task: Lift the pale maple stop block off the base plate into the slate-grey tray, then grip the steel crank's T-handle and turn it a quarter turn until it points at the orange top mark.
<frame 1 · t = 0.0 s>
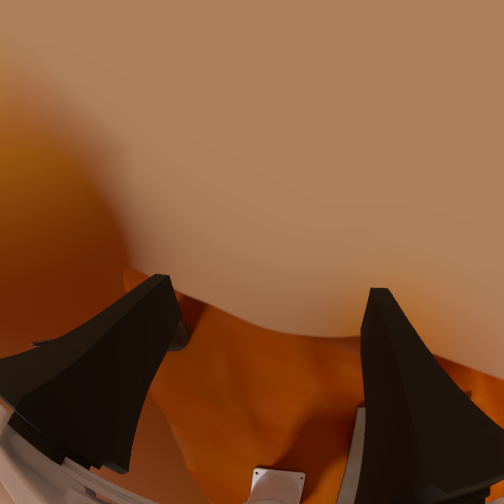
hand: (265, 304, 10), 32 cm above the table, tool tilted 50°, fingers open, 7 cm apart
butter churn: (171, 329, 44), on the table
base plate: (405, 459, 30), on the table
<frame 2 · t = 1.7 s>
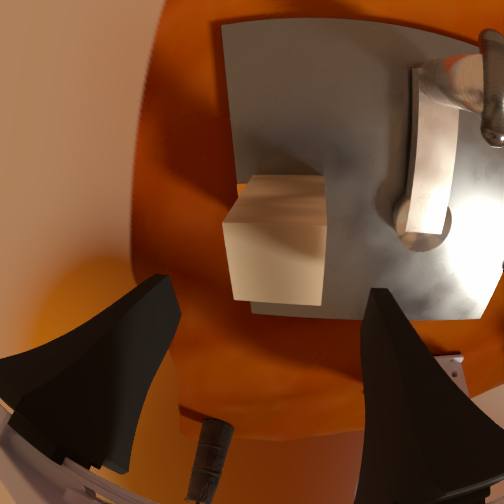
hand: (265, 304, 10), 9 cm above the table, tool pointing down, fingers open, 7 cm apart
crank: (454, 176, 10), point 5 cm above the table, hinge at -90.0°
butter churn: (215, 424, 41), on the table
stop block: (289, 207, 17), point 1 cm above the table, touching base plate
base plate: (401, 191, 15), on the table
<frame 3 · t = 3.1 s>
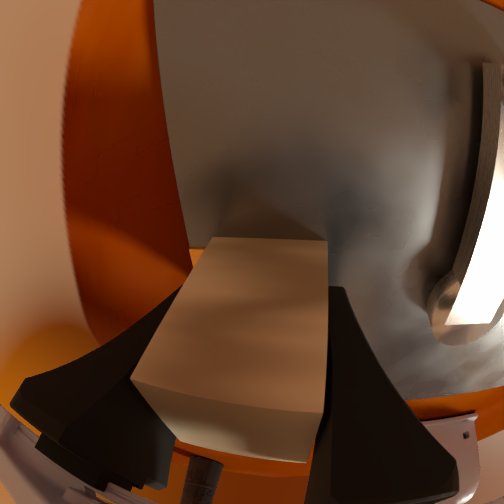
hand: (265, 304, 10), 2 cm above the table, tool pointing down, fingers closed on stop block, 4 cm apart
butter churn: (203, 460, 35), on the table
stop block: (270, 284, 11), point 1 cm above the table, touching base plate, gripper
base plate: (442, 255, 10), on the table
when the fingers open (3 cm above the table, at t = 7.2 s): stop block drops 2 cm, resting on tray.
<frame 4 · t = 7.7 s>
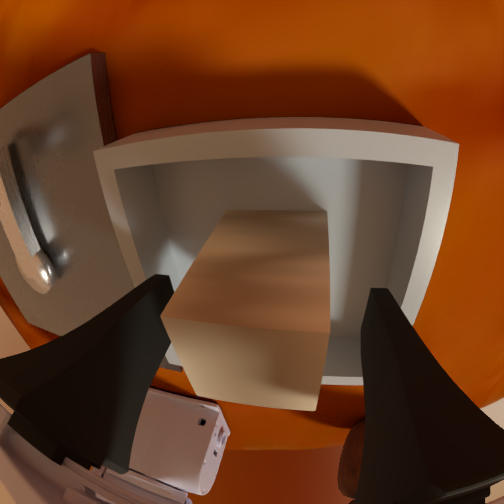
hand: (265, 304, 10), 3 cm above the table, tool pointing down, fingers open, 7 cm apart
wooden figurine: (377, 420, 21), on the table
stop block: (278, 253, 12), resting on tray
tray: (278, 251, 13), on the table
base plate: (39, 241, 16), on the table
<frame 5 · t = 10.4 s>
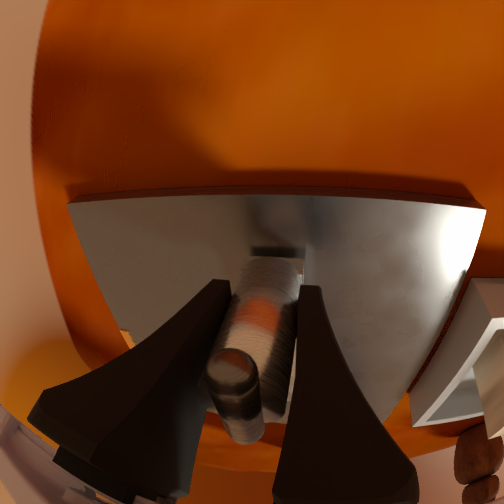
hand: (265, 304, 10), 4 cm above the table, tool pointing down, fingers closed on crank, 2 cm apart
crank: (265, 392, 11), point 5 cm above the table, hinge at -90.0°, touching gripper
butter churn: (176, 453, 43), on the table
wooden figurine: (474, 427, 21), on the table
stop block: (503, 346, 13), resting on tray
tray: (499, 343, 13), on the table
base plate: (265, 345, 17), on the table
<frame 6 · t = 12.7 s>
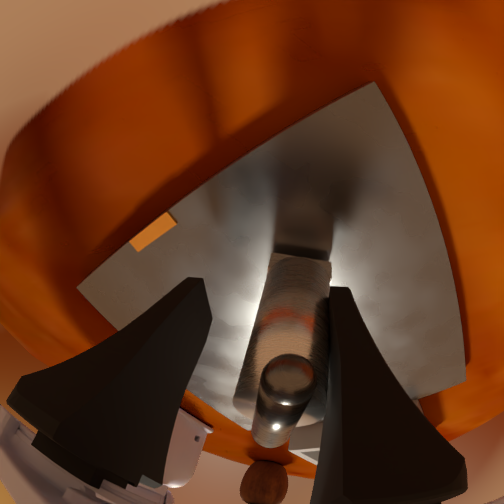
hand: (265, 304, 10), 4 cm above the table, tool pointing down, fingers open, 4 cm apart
crank: (275, 393, 11), point 5 cm above the table, hinge at -39.2°, touching gripper
wooden figurine: (269, 462, 34), on the table
tray: (369, 431, 22), on the table
base plate: (285, 341, 16), on the table
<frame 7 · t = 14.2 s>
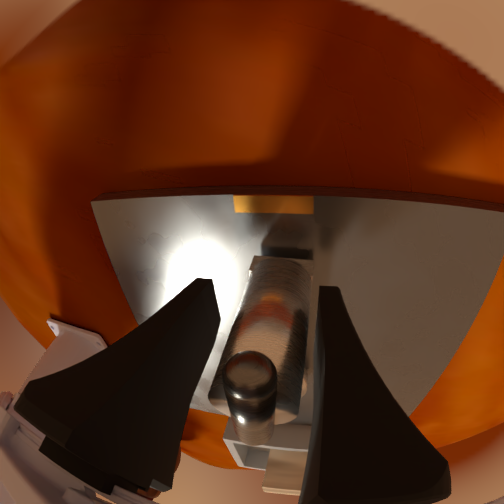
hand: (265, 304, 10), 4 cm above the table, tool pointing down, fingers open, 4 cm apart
crank: (269, 393, 11), point 5 cm above the table, hinge at -2.5°
wooden figurine: (166, 432, 34), on the table
stop block: (292, 442, 25), resting on tray
tray: (290, 438, 26), on the table
base plate: (297, 348, 16), on the table
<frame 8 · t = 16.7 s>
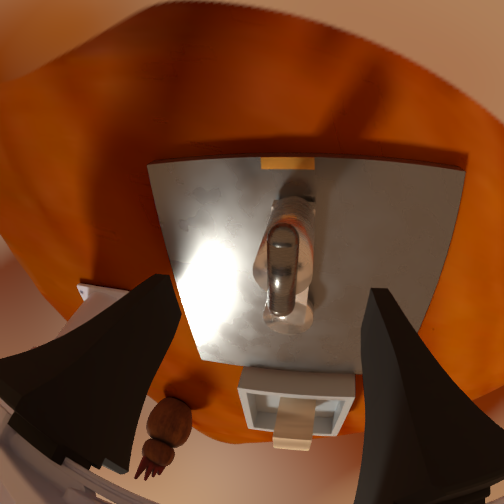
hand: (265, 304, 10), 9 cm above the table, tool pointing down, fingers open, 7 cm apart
crank: (286, 304, 16), point 5 cm above the table, hinge at -2.5°
wooden figurine: (178, 402, 39), on the table
stop block: (298, 399, 30), resting on tray
tray: (297, 395, 30), on the table
base plate: (304, 287, 21), on the table
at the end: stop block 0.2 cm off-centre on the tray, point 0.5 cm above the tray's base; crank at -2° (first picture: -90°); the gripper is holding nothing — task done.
